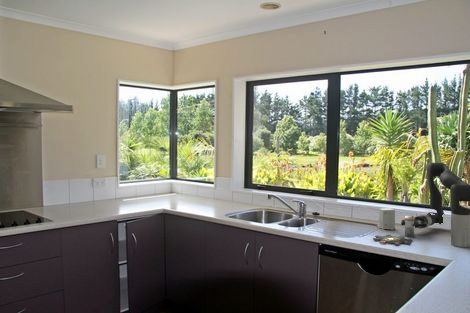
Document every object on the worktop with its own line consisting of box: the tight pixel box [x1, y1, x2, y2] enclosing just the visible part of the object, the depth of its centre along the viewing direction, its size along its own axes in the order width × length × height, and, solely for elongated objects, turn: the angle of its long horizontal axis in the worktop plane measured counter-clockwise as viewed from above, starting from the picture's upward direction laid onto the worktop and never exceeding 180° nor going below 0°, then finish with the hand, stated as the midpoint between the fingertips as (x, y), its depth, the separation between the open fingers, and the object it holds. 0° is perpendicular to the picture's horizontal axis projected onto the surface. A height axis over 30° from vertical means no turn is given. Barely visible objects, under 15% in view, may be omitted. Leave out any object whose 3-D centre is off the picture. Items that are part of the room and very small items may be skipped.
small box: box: [378, 207, 396, 230], centre depth 252 cm, size 8×6×13 cm
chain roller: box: [404, 215, 415, 238], centre depth 231 cm, size 5×5×12 cm
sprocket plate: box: [372, 234, 414, 247], centre depth 221 cm, size 21×21×2 cm
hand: (408, 224), depth 230 cm, fingers open, 8 cm apart
